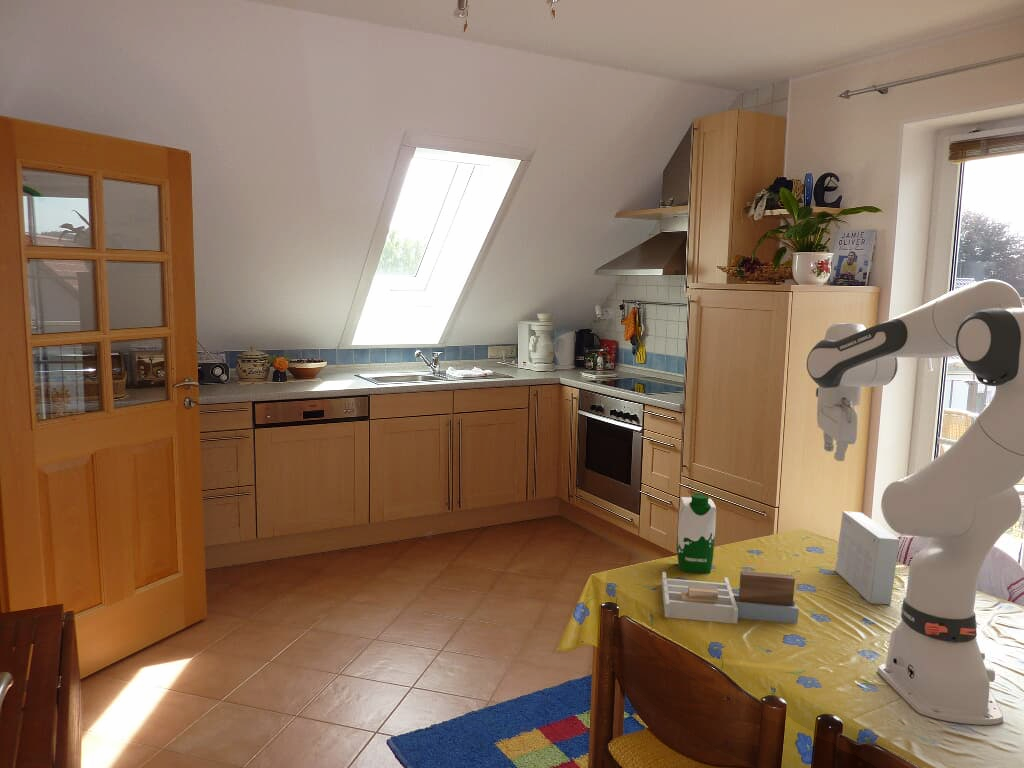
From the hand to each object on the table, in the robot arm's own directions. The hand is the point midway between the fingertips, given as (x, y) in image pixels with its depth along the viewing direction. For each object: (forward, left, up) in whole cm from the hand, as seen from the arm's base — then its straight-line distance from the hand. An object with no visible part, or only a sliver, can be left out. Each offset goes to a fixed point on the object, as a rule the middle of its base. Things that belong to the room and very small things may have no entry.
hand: (833, 455), depth 177 cm
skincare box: (+10, -12, -34) cm, 38 cm away
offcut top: (-16, +28, -30) cm, 44 cm away
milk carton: (+11, +28, -34) cm, 46 cm away
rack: (-11, +29, -34) cm, 46 cm away
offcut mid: (-16, +29, -31) cm, 46 cm away
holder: (-14, +15, -34) cm, 40 cm away
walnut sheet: (-14, +15, -33) cm, 39 cm away
